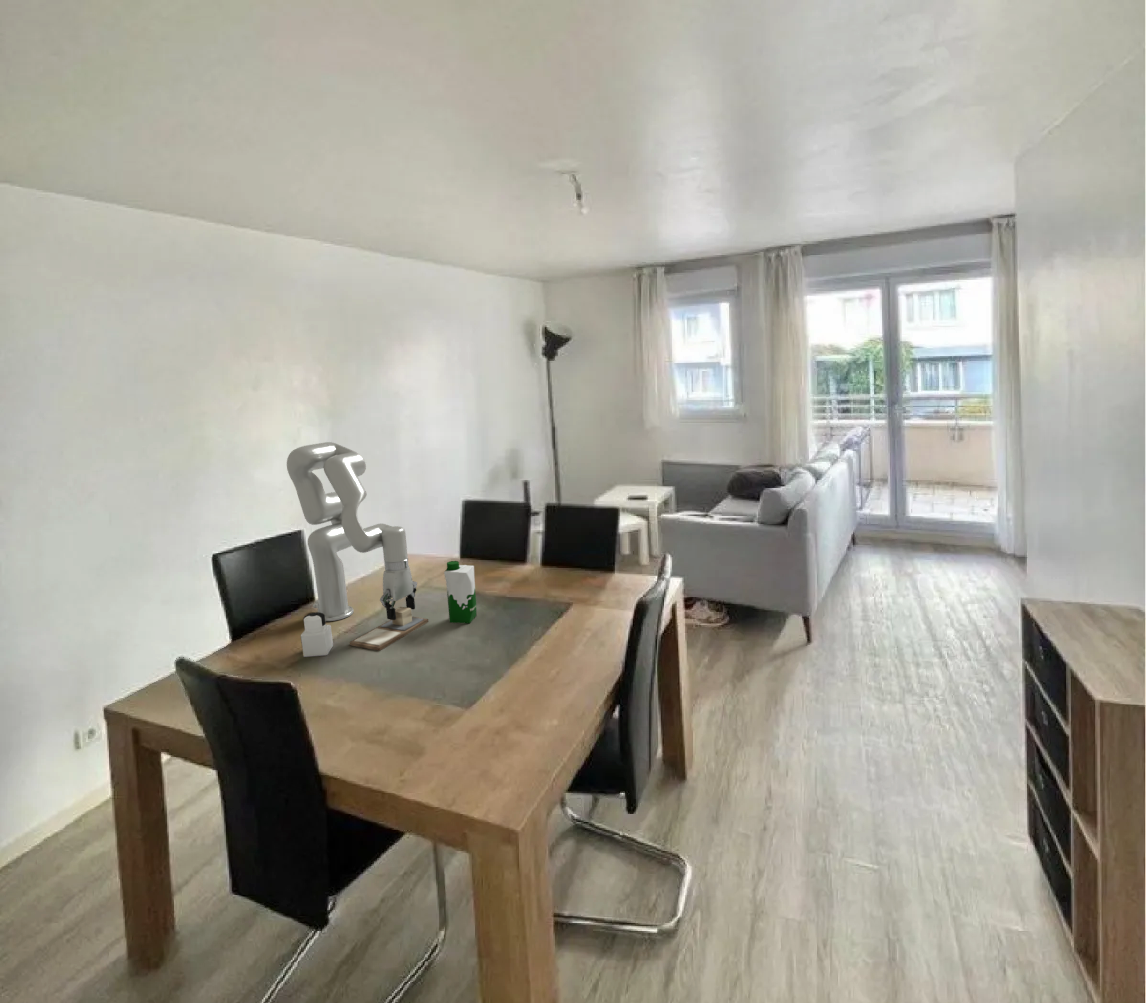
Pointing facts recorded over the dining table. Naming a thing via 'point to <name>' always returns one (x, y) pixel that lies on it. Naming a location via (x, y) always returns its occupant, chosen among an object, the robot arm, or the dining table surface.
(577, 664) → the dining table surface
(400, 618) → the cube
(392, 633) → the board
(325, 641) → the medicine bottle
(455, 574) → the fresh milk carton
